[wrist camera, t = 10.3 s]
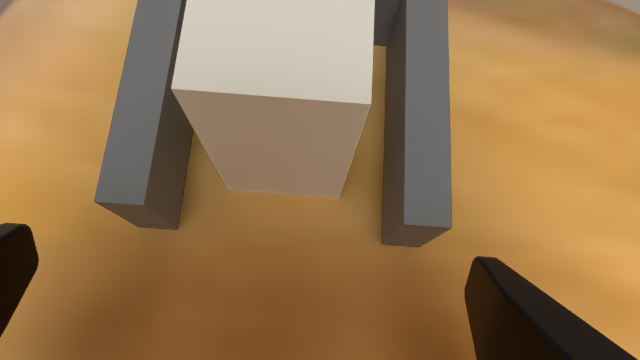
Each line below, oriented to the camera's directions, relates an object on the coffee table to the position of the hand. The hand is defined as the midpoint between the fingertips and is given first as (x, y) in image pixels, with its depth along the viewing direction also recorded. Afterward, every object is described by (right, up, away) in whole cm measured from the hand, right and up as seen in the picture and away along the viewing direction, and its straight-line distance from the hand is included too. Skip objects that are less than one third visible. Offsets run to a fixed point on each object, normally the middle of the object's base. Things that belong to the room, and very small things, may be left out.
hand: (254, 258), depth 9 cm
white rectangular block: (0, +3, +10) cm, 10 cm away
